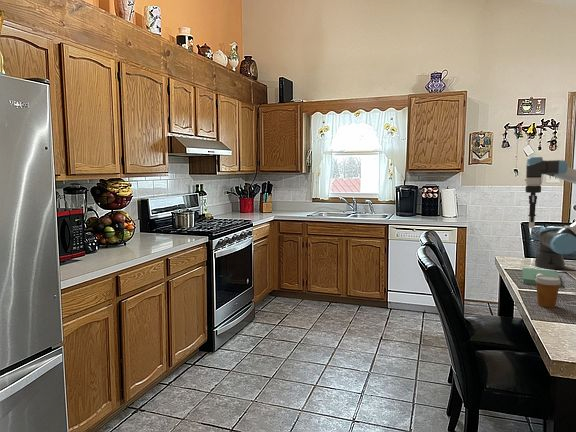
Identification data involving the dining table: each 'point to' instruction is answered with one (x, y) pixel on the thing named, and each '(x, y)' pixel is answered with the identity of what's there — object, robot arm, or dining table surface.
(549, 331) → the dining table surface
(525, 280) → the putting mat
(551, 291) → the disposable coffee cup
